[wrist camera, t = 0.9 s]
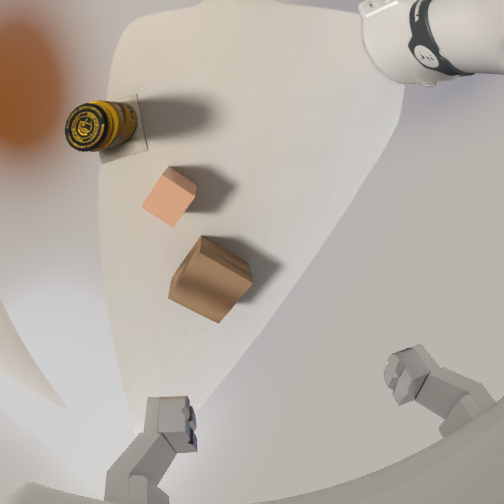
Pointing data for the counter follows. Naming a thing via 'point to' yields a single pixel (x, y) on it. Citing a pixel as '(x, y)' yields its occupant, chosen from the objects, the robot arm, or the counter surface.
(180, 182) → the terracotta cube
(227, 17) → the counter surface
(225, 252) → the walnut box
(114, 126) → the condiment
